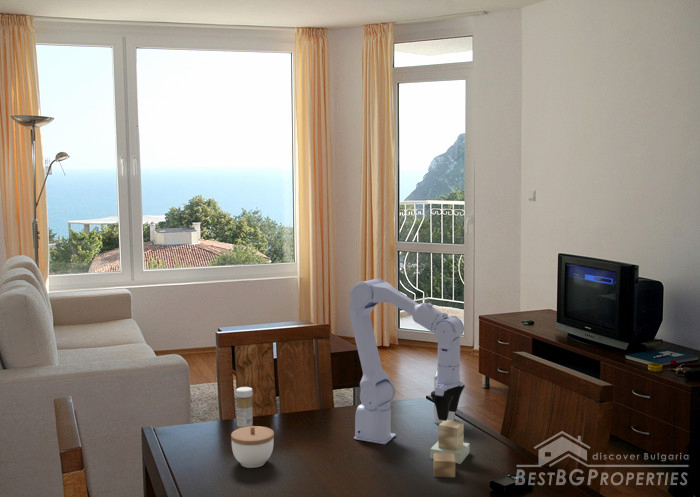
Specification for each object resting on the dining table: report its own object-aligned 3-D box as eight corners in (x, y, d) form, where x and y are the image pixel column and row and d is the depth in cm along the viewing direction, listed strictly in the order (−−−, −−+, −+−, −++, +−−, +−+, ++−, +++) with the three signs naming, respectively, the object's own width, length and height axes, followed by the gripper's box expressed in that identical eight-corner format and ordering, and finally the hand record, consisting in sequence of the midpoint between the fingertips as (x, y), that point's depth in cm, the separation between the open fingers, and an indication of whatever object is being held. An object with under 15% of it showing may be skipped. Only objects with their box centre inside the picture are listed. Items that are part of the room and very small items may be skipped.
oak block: (434, 477, 166) (434, 460, 165) (433, 468, 171) (433, 453, 170) (455, 477, 165) (455, 461, 165) (453, 469, 170) (453, 453, 170)
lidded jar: (239, 474, 166) (238, 437, 166) (225, 459, 176) (225, 423, 175) (280, 466, 171) (280, 430, 170) (265, 452, 181) (265, 417, 180)
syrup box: (453, 424, 202) (454, 376, 201) (433, 423, 203) (434, 375, 202) (454, 418, 208) (455, 371, 206) (435, 417, 209) (435, 370, 208)
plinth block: (430, 460, 177) (430, 448, 177) (440, 449, 184) (440, 438, 184) (460, 465, 173) (460, 454, 173) (469, 454, 181) (469, 443, 180)
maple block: (438, 447, 177) (438, 424, 177) (445, 441, 182) (445, 419, 181) (456, 451, 175) (457, 428, 174) (463, 444, 179) (463, 422, 179)
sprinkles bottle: (248, 431, 196) (247, 385, 195) (255, 436, 192) (255, 389, 191) (233, 434, 193) (233, 388, 192) (240, 439, 190) (240, 392, 188)
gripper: (454, 372, 169) (453, 426, 171) (471, 359, 182) (470, 409, 184) (427, 369, 173) (426, 422, 174) (446, 356, 185) (445, 405, 187)
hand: (447, 415), depth 179 cm, fingers open, 7 cm apart
